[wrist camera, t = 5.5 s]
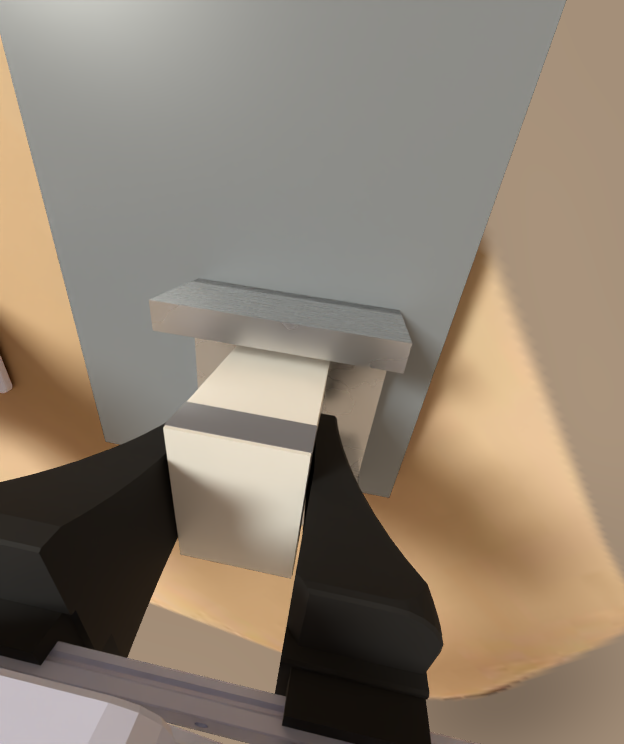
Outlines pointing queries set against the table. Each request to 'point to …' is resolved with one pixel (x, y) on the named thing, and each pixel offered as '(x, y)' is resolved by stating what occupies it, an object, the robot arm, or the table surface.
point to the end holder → (295, 342)
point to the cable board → (269, 168)
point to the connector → (246, 459)
